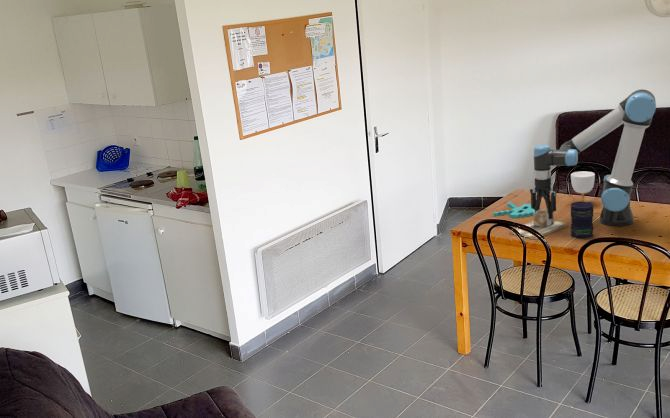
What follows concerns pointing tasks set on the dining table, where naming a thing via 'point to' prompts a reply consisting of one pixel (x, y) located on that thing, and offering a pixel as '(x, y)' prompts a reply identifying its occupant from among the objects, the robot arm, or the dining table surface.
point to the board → (540, 229)
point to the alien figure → (517, 211)
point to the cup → (582, 182)
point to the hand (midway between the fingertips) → (543, 223)
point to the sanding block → (542, 218)
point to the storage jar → (582, 220)
